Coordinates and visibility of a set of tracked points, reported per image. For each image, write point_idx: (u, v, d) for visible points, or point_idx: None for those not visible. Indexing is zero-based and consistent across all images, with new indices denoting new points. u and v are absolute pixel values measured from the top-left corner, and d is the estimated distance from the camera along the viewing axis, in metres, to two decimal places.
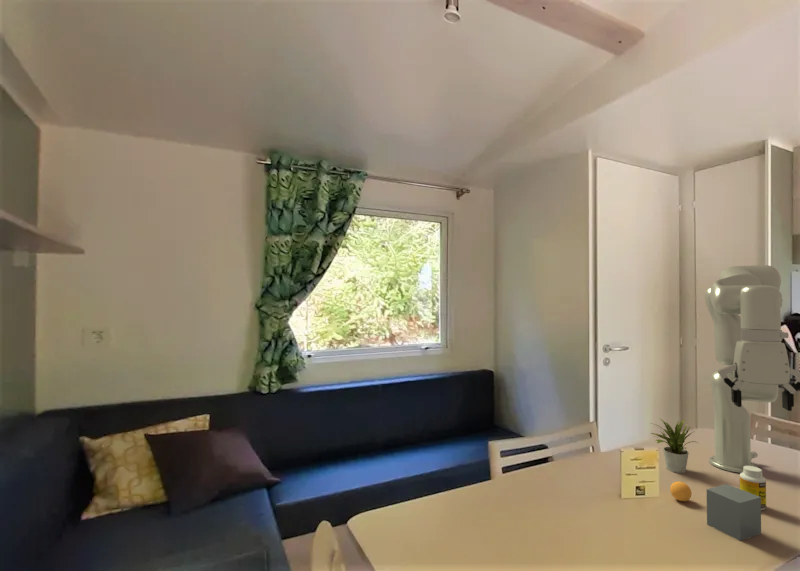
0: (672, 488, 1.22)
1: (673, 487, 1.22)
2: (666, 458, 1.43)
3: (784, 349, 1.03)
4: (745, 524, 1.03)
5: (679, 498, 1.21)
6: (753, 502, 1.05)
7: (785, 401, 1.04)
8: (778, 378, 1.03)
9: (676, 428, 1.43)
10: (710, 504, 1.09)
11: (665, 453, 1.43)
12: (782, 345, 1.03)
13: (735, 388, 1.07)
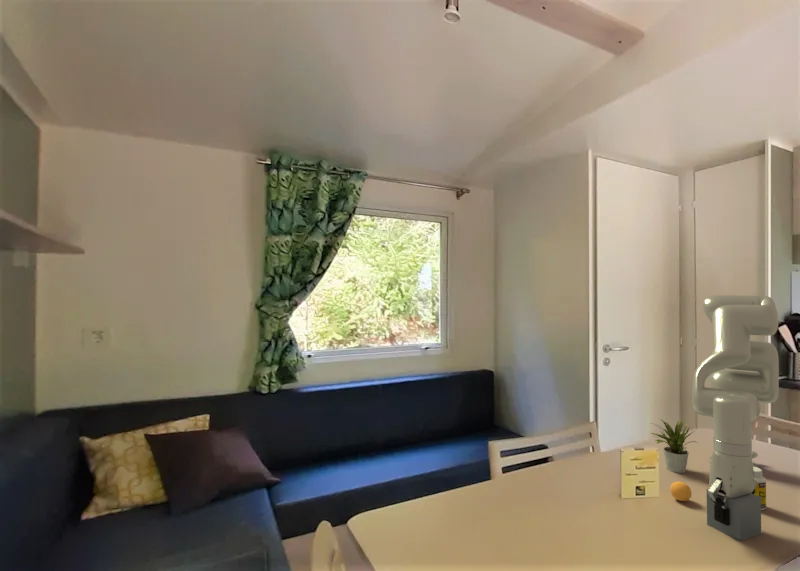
0: (672, 488, 1.22)
1: (673, 487, 1.22)
2: (666, 458, 1.43)
3: (751, 459, 1.07)
4: (745, 524, 1.03)
5: (679, 498, 1.21)
6: (753, 502, 1.05)
7: None
8: (749, 488, 1.07)
9: (676, 428, 1.43)
10: (710, 504, 1.09)
11: (665, 453, 1.43)
12: None
13: (725, 507, 1.05)
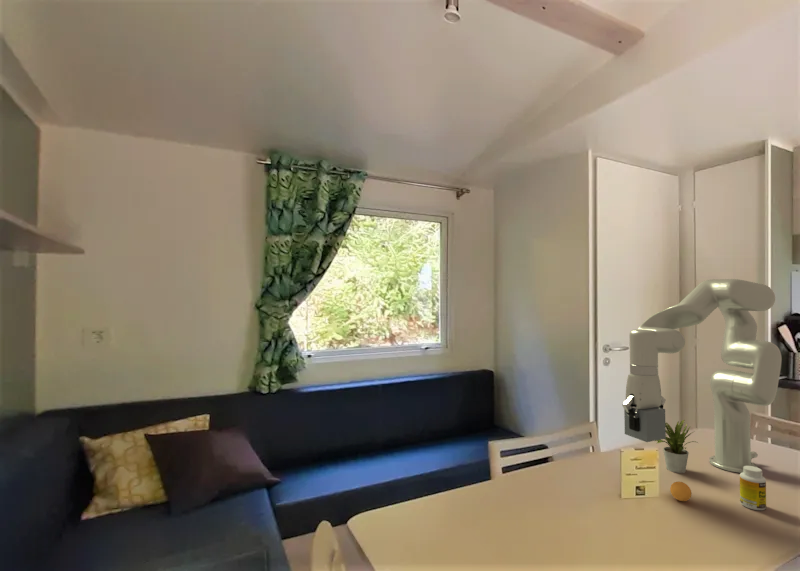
0: (672, 488, 1.22)
1: (673, 487, 1.22)
2: (666, 458, 1.43)
3: (659, 379, 1.33)
4: (651, 429, 1.29)
5: (679, 498, 1.21)
6: (659, 412, 1.30)
7: None
8: (656, 403, 1.32)
9: (676, 428, 1.43)
10: (627, 417, 1.34)
11: (665, 453, 1.43)
12: (658, 376, 1.33)
13: (636, 416, 1.30)
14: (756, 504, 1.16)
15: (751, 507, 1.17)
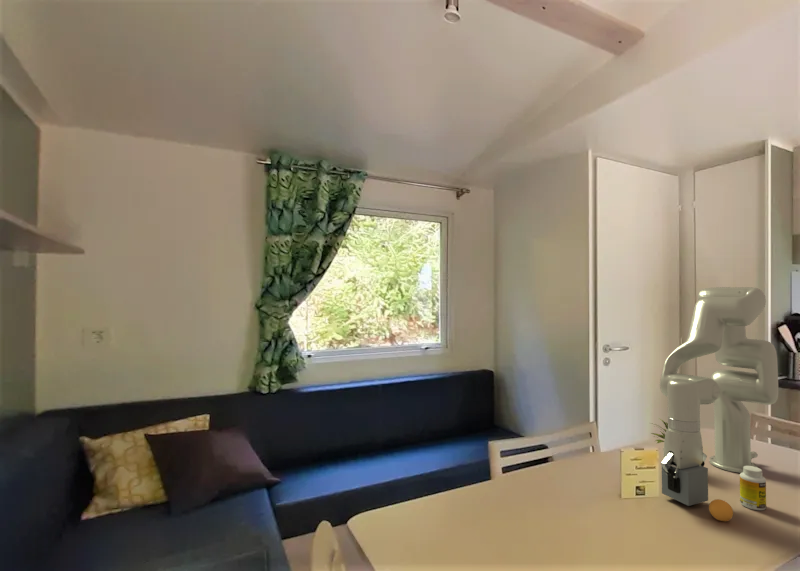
0: (712, 514, 1.12)
1: (710, 512, 1.12)
2: None
3: (700, 434, 1.21)
4: (693, 491, 1.17)
5: (718, 506, 1.11)
6: (701, 472, 1.19)
7: None
8: (698, 461, 1.20)
9: None
10: (664, 475, 1.23)
11: None
12: (699, 431, 1.21)
13: (676, 477, 1.19)
14: (756, 504, 1.16)
15: (751, 507, 1.17)
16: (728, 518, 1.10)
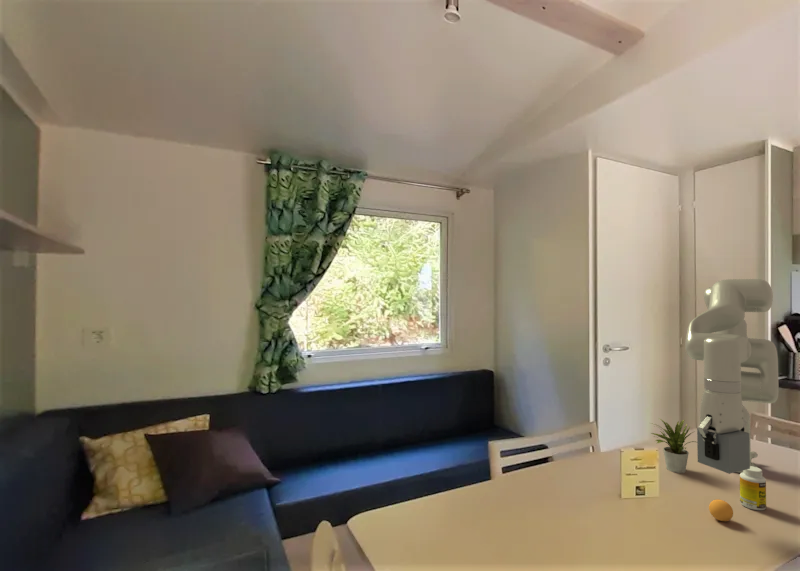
0: (712, 514, 1.12)
1: (710, 512, 1.12)
2: (666, 458, 1.43)
3: (741, 397, 1.11)
4: (734, 458, 1.07)
5: (718, 506, 1.11)
6: (742, 437, 1.08)
7: None
8: (738, 425, 1.10)
9: (676, 428, 1.43)
10: (700, 442, 1.12)
11: (665, 453, 1.43)
12: None
13: (715, 442, 1.08)
14: (756, 504, 1.16)
15: (751, 507, 1.17)
16: (728, 518, 1.10)
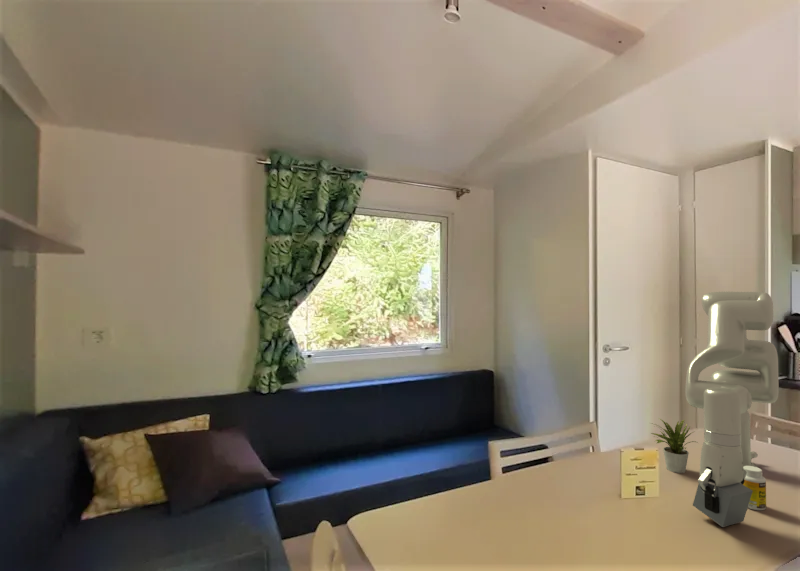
0: None
1: None
2: (666, 458, 1.43)
3: (741, 449, 1.10)
4: (731, 513, 1.07)
5: None
6: (744, 494, 1.07)
7: None
8: (738, 478, 1.10)
9: (676, 428, 1.43)
10: (701, 489, 1.12)
11: (665, 453, 1.43)
12: None
13: (714, 495, 1.08)
14: (756, 504, 1.16)
15: (751, 507, 1.17)
16: None
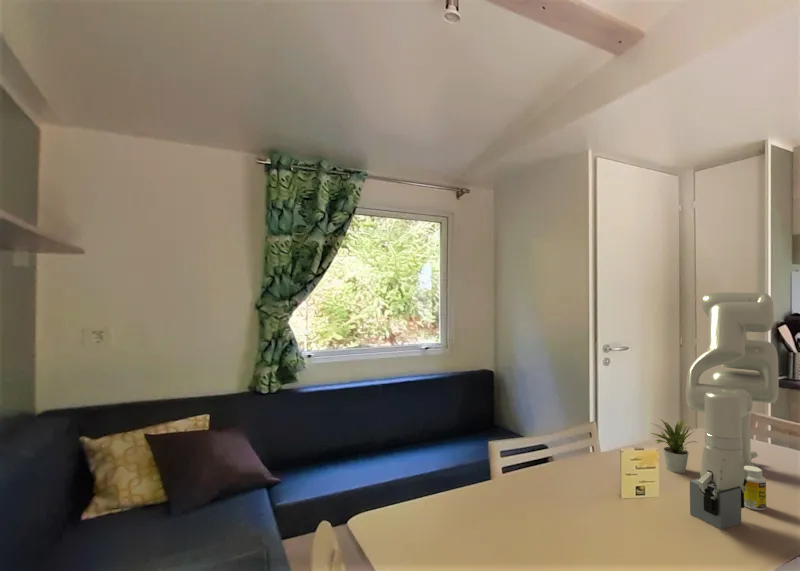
0: None
1: None
2: (666, 458, 1.43)
3: (741, 452, 1.10)
4: (725, 513, 1.08)
5: None
6: (734, 492, 1.10)
7: None
8: (739, 481, 1.10)
9: (676, 428, 1.43)
10: (693, 495, 1.14)
11: (665, 453, 1.43)
12: None
13: (714, 498, 1.08)
14: (756, 504, 1.16)
15: (751, 507, 1.17)
16: None
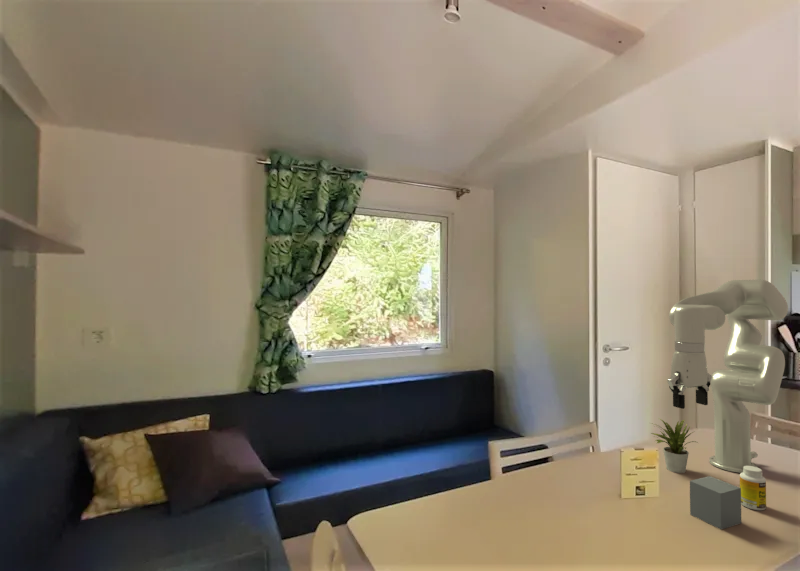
0: None
1: None
2: (666, 458, 1.43)
3: (705, 357, 1.30)
4: (726, 514, 1.08)
5: None
6: (734, 492, 1.10)
7: (701, 398, 1.31)
8: (703, 381, 1.29)
9: (676, 428, 1.43)
10: (693, 495, 1.14)
11: (665, 453, 1.43)
12: (704, 354, 1.29)
13: (681, 393, 1.27)
14: (756, 504, 1.16)
15: (751, 507, 1.17)
16: None
